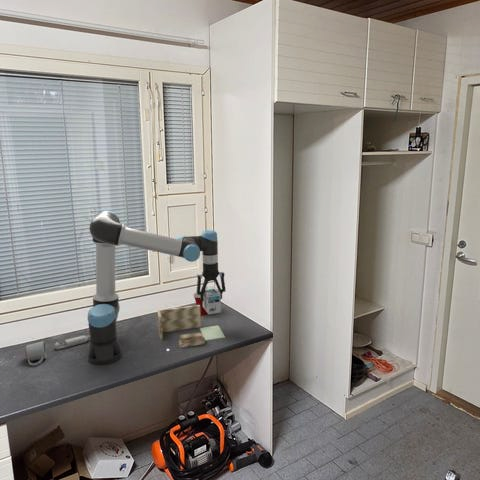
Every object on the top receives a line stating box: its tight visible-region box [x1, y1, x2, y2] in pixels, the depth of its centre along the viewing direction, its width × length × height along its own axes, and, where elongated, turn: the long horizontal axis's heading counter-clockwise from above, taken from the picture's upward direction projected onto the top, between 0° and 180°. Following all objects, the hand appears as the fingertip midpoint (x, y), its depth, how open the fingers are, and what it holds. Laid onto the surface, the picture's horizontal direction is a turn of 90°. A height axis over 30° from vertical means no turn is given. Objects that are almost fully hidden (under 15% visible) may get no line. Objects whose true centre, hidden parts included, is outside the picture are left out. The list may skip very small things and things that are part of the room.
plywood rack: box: [156, 304, 202, 341], centre depth 213 cm, size 22×10×12 cm, turn 107°
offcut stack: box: [178, 332, 206, 348], centre depth 202 cm, size 12×4×5 cm, turn 107°
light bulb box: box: [203, 285, 222, 315], centre depth 209 cm, size 11×7×11 cm, turn 21°
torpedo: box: [53, 331, 90, 350], centre depth 202 cm, size 18×5×7 cm, turn 124°
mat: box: [199, 325, 226, 342], centre depth 214 cm, size 10×14×1 cm
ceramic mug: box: [24, 341, 47, 367], centre depth 188 cm, size 11×8×8 cm
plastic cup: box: [192, 292, 209, 316], centre depth 237 cm, size 11×11×12 cm
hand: (211, 305), depth 210 cm, fingers closed on light bulb box, 7 cm apart
